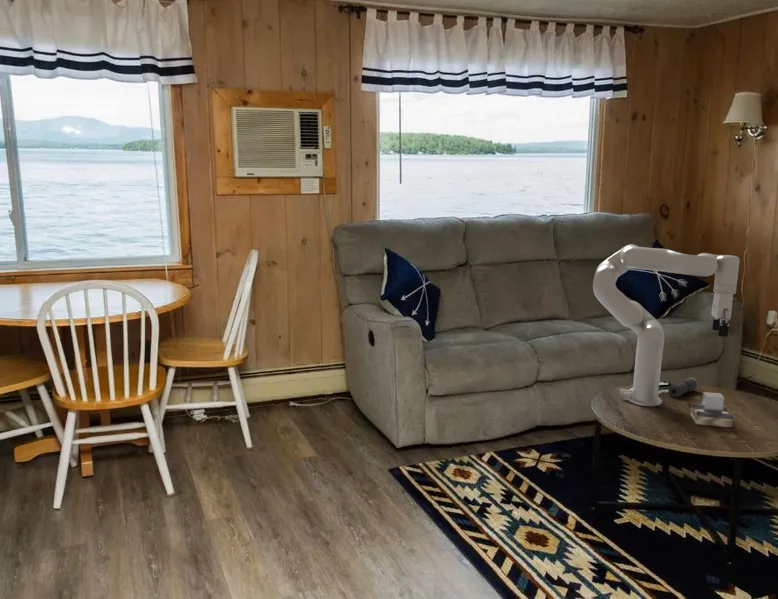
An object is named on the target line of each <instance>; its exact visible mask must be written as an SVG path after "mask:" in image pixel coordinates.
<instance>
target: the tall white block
mask: <svg viewBox="0 0 778 599" xmlns="http://www.w3.org/2000/svg"><path fill="white" fill-rule="evenodd" d="M724 400H725V397H724V395H723V394H722V393H720V392H706V391H703V393H702V402H701V404H702V409H701V410H702V411H703V412H714V413H722V410H723V406H724Z"/></svg>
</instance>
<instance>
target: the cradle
mask: <svg viewBox="0 0 778 599" xmlns="http://www.w3.org/2000/svg"><path fill="white" fill-rule="evenodd" d="M701 409H702V403H694V402H692V403H691V407H690V416H691V417H692V420H693V421H694V423H695V424H696V425H705V426H714V427H722V428H723V427H725V428H733V423H734V415H733V413H729V412H728V406H726V405H723V410H722V413H714V412H703V411H702V410H701Z"/></svg>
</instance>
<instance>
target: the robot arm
mask: <svg viewBox="0 0 778 599" xmlns="http://www.w3.org/2000/svg"><path fill="white" fill-rule="evenodd" d="M740 260H741V259H740V257H738V256H736V255H732V254H715V253H714V254H713V253H709V252H708V253H707V252H702V253H699V254H697V255H696V254H695V255H694V254H687V253H681V252H677V251H674V250H671V249H669V248H668V249H666V248H659V247H655V248H654V247H644V246H638V245H637V244H628V245H625V246H623V247H621V249H620V250H618V251H617V252H615V253H614V254H612V255H611V256H609V257H608V258H606V259H605V260H604V261H602V262H601V263H600V264H599V265H598V266H597V267H596V271H595V274H594V277H593V280H592V281H593V282H592V291H593V294H594V296H595V298H596V299H597V301H599V303H600V304H601V305H602V306H603V307H604V308H605V309H606V310H607V311H608V312H609V313H610V314H611V315H612V316H613V317H614V318H615V319H616V320H617V321H618V322H619V323H620V324H621V325H622V326H624V327H626V328H628V329H630V330H632V332H634V333H635V334H636V335H637V338H636V339H637V340H636V341H637V342H636V352H635V362H634V363H635V364H634V373H633V374H634V375H633V384H632V387H631V388H628V389H624V388H620V389H619V390H620V391H619V394H621V395H624V396H627V400H628V401H629V402H630V403H632V404H635V405H638V406H642V407H658V406H661V405H662V402H663V400H662V399H661V398H660V397H659V389H660V379H661V368H662V360H663V351H664V347H665V332H664V329H663V326H662V325H661V323H660V321H658V320H657V319H656V318H655V317H654V316H653V314H651V313H650V312H649V311H648V310H647V309H645V308H644V307H643V306H642V305H641V304H640V303H639V302H637V301H635V300H631V299H629V298H628V297H626V295H625V294H624V293H623V292H622V291H620V290H619V289H618V287H617V285H616V283H617V280H618V278H619V277H620V276H622V275H624V274H625V273H626V272H628V271H629V270H631V269H634V270H635V269H636V270H644V271H645V270H646V271H656V272H657V271H658V272H664V273H670V274H672V273H673V274H681V275H687V276H696V277H710V276H713V275H714V283H713V292H714V294H713V301H712V306H711V311H710V312H711V316H712V318H713V319H712V326H711V328H712V329H711V330H712V331H717V335H718V337H726V338H727V337H728V336H729V327H730V320H731V318H732V310H733V297H734V295H735V294H736V293H737V287H738V286H737V285H738V277H739V268H740Z"/></svg>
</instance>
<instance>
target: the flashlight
mask: <svg viewBox="0 0 778 599" xmlns="http://www.w3.org/2000/svg"><path fill="white" fill-rule="evenodd" d="M698 387H699V383H698V381H697V380H696V379H695V378H694V377H688V378H685V379H683V380H682V381H680V382H679V383H673V384H670V386H669V387H668V389H667V390H668V394H669V395H670V396H671V397H672V398H678V397H681V396H682V395H683V394H685V393H686V394H687V393H691V392H693V391H696V390H697V389H698Z"/></svg>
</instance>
